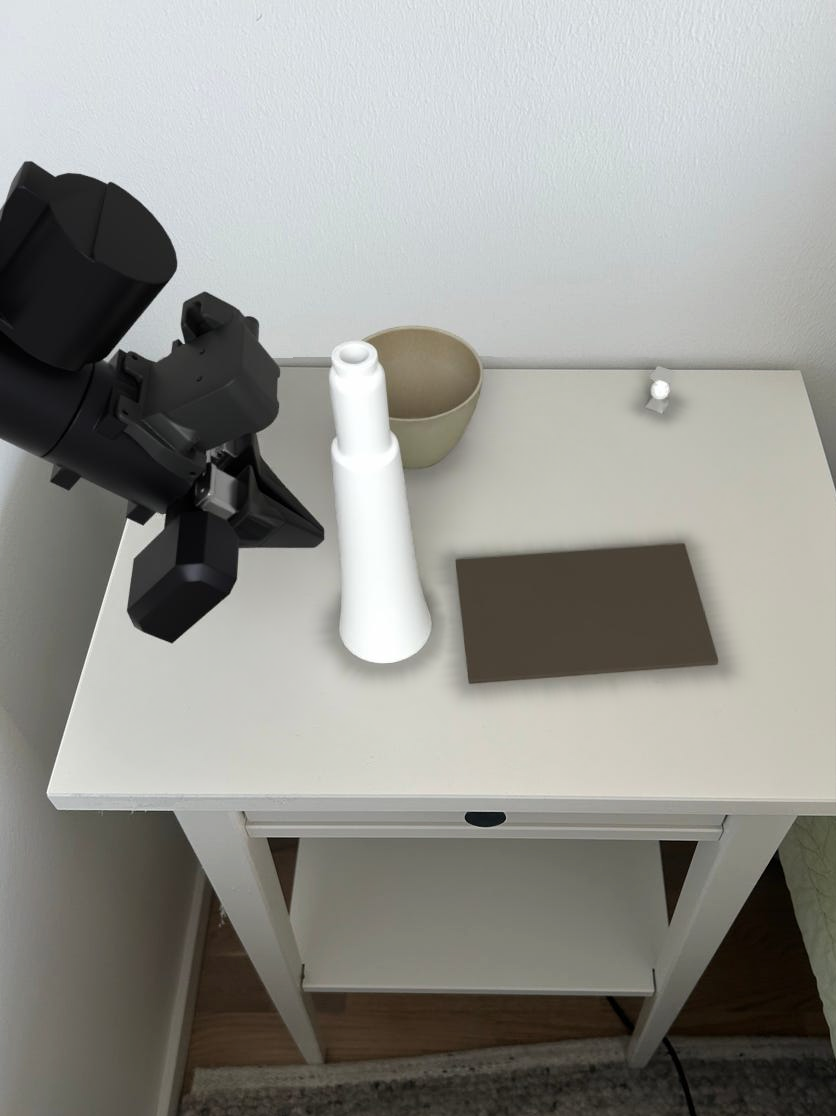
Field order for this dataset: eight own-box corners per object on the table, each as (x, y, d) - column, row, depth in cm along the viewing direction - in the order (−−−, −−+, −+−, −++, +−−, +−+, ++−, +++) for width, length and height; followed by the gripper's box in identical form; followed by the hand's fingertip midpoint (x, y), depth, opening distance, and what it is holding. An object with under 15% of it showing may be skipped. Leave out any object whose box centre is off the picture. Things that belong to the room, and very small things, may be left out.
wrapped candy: (669, 402, 79) (676, 371, 76) (662, 413, 78) (668, 383, 76) (652, 396, 79) (657, 365, 77) (644, 407, 79) (650, 376, 76)
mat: (469, 684, 63) (469, 680, 63) (455, 563, 69) (455, 559, 69) (717, 664, 64) (718, 661, 64) (683, 547, 70) (684, 543, 70)
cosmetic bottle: (436, 659, 64) (423, 390, 47) (342, 669, 64) (292, 402, 46) (426, 586, 68) (410, 310, 50) (336, 595, 67) (288, 320, 49)
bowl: (323, 462, 75) (311, 386, 69) (397, 386, 80) (391, 309, 74) (437, 513, 72) (434, 438, 66) (506, 430, 77) (509, 354, 71)
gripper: (130, 443, 39) (423, 596, 49) (169, 184, 50) (403, 351, 60) (2, 584, 45) (286, 696, 55) (62, 325, 56) (290, 456, 66)
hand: (320, 538), depth 59 cm, fingers closed
